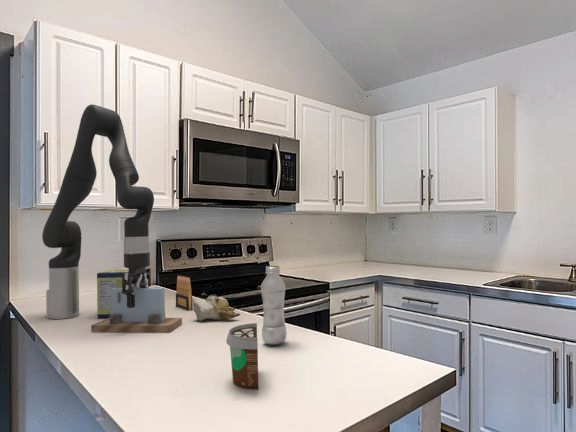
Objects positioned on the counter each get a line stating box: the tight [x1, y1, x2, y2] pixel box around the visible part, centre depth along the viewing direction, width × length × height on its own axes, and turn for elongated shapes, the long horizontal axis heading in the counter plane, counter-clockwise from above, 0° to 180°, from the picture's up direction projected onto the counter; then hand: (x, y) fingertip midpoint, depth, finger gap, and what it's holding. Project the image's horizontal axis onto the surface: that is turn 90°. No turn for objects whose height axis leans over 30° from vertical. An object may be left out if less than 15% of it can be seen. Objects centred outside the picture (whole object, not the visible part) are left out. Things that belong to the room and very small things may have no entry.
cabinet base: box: [90, 314, 183, 334], centre depth 127 cm, size 24×10×4 cm, turn 84°
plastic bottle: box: [260, 265, 288, 346], centre depth 107 cm, size 6×7×20 cm
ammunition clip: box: [175, 275, 194, 312], centre depth 155 cm, size 11×2×12 cm, turn 39°
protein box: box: [96, 267, 139, 320], centre depth 148 cm, size 10×16×16 cm
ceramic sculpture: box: [192, 293, 241, 322], centre depth 136 cm, size 11×9×15 cm
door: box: [111, 287, 166, 322], centre depth 127 cm, size 16×3×10 cm, turn 84°
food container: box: [226, 322, 259, 390], centre depth 83 cm, size 12×6×10 cm, turn 5°
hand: (137, 304), depth 127 cm, fingers open, 8 cm apart
